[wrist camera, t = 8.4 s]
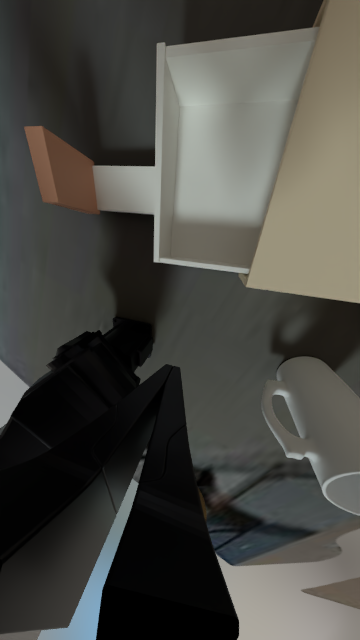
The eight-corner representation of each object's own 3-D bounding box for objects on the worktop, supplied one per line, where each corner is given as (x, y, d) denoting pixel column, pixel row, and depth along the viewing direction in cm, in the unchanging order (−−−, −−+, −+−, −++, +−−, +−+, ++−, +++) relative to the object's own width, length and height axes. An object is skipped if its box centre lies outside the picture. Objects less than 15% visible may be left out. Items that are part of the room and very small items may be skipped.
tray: (97, 250, 20) (55, 251, 15) (77, 109, 14) (0, 33, 9) (306, 276, 16) (346, 289, 11) (390, 90, 10) (560, -67, 5)
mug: (342, 359, 19) (495, 498, 8) (318, 395, 22) (410, 532, 11) (256, 345, 21) (293, 444, 10) (245, 380, 24) (265, 485, 13)
